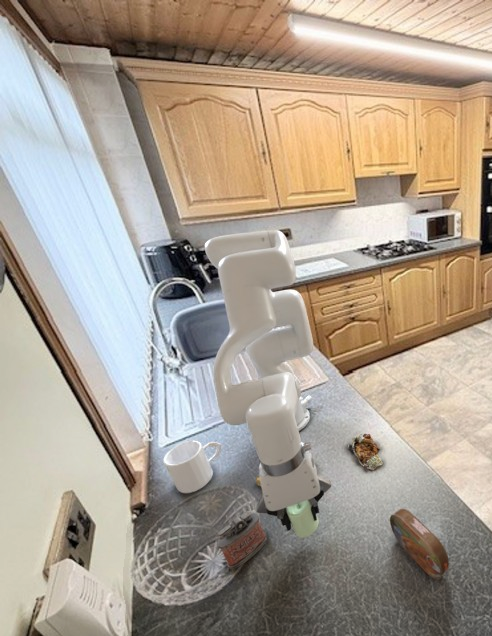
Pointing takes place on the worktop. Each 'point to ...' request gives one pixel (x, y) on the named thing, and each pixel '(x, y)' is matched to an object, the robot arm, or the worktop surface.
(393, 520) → the tin
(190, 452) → the mug
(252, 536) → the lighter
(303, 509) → the candle
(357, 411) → the worktop surface
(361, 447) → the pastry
